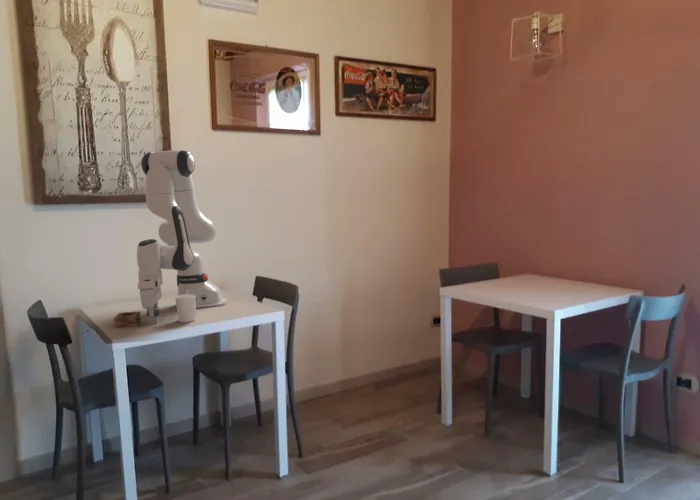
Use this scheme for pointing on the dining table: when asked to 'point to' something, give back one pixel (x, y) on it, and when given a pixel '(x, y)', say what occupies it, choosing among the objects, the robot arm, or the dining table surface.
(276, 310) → the dining table surface
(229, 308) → the dining table surface
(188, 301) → the white cup
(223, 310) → the dining table surface
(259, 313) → the dining table surface
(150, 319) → the knob
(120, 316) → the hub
